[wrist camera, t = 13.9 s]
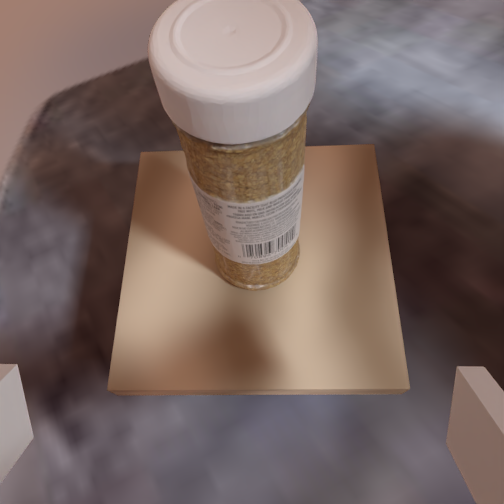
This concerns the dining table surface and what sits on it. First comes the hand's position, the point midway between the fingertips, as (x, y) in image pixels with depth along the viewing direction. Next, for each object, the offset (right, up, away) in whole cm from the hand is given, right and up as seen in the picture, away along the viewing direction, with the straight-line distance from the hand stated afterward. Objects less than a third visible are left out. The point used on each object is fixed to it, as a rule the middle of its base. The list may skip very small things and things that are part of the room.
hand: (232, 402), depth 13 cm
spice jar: (+1, +4, +10) cm, 11 cm away
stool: (+1, +2, +15) cm, 16 cm away
